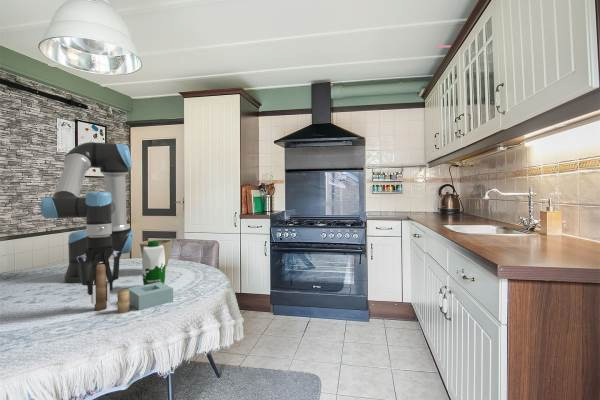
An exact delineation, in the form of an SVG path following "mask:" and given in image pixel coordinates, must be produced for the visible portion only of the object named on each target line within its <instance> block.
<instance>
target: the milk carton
mask: <svg viewBox="0 0 600 400" xmlns="http://www.w3.org/2000/svg"><path fill="white" fill-rule="evenodd" d="M148 241H149V242H148V246H144V247H143V252H142V253H141V255H142V254H143V256H141V257H142V260H141V261H142V262H141V263H142V264H141V265H142V270H141V271H142V272H141V273H142V283H143V285H147V284H152V283H157V282H162V283H164V284H165V282H166V281H165V280H166V270H165V254H164V253H165V250H164V246H163V245H158V241H150V240H148Z"/></svg>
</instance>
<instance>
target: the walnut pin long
mask: <svg viewBox="0 0 600 400" xmlns="http://www.w3.org/2000/svg"><path fill="white" fill-rule="evenodd" d="M106 281H107V276H106V265H105V264H104V263H103V262H99V263H97V266H96V271H95V276H94V281H93V284H94V285H95V286H96V304H94V311H95V312H101V311H105V310H107V308H108V304H107V303H108V301H107V291H106Z"/></svg>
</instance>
